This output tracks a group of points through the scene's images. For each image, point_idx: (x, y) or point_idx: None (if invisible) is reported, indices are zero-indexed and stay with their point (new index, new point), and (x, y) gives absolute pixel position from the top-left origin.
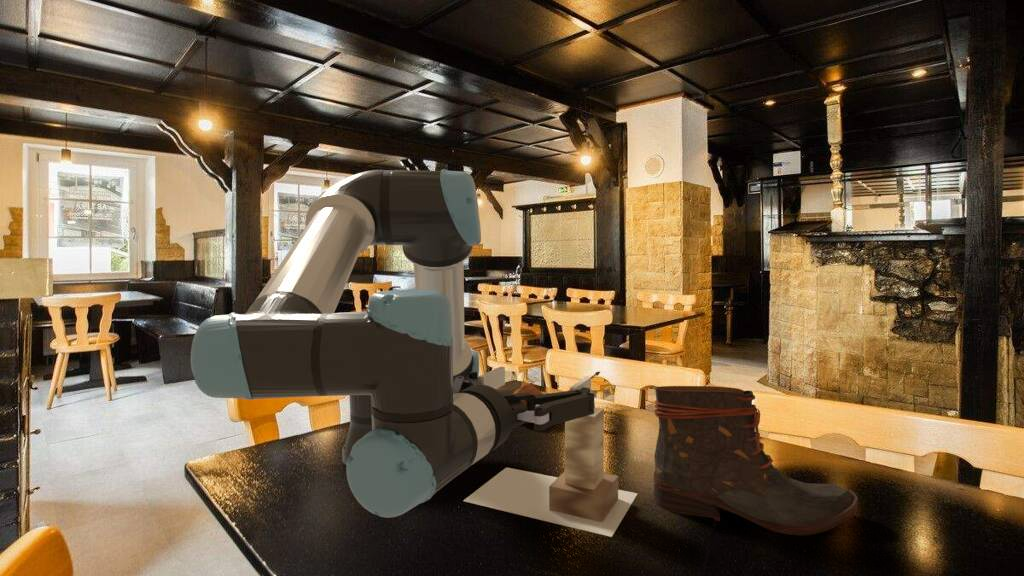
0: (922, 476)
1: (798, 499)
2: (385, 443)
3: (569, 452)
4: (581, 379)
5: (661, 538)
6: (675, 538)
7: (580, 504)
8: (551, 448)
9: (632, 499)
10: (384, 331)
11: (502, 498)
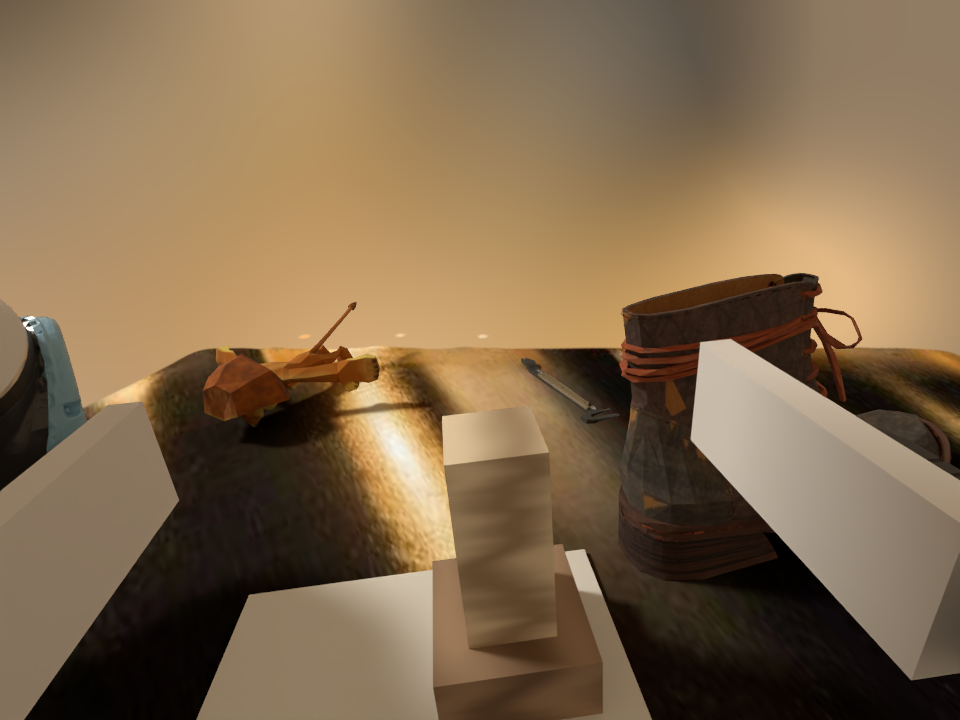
0: (842, 349)
1: None
2: None
3: (473, 571)
4: (746, 374)
5: (758, 693)
6: (779, 673)
7: (537, 697)
8: (332, 482)
9: (591, 575)
10: None
11: None
